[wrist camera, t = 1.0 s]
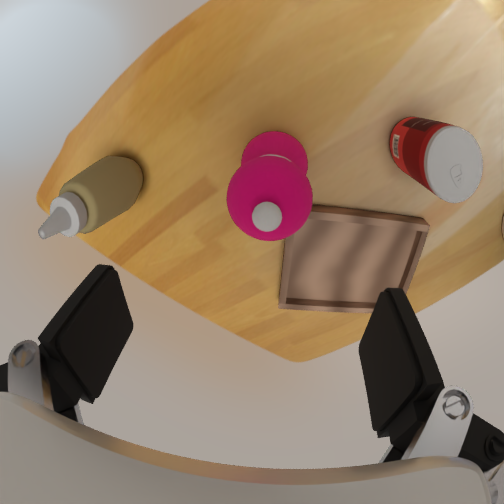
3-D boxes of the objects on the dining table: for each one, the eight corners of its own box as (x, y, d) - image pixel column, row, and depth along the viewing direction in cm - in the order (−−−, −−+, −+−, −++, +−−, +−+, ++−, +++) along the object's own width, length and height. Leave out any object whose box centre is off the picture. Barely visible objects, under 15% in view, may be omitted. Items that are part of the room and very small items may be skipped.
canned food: (409, 185, 32) (448, 218, 23) (375, 138, 30) (412, 156, 20) (445, 153, 29) (492, 176, 19) (415, 105, 26) (462, 111, 17)
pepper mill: (315, 167, 33) (349, 244, 16) (266, 193, 35) (248, 291, 18) (285, 117, 30) (288, 134, 13) (235, 147, 33) (179, 203, 15)
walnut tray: (422, 218, 34) (430, 225, 32) (393, 304, 42) (397, 313, 40) (288, 202, 36) (288, 209, 33) (278, 297, 44) (278, 308, 42)
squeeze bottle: (121, 211, 39) (48, 278, 23) (96, 167, 35) (10, 217, 20) (160, 187, 36) (84, 254, 21) (133, 139, 33) (39, 178, 18)
